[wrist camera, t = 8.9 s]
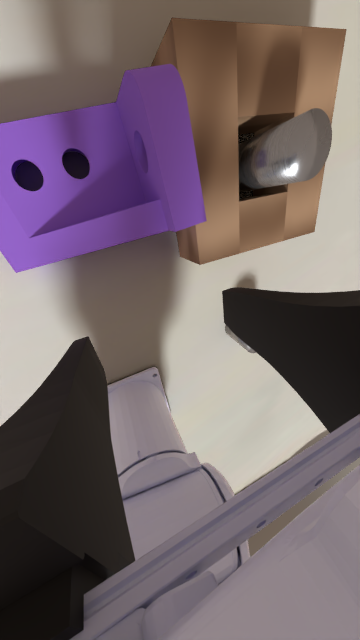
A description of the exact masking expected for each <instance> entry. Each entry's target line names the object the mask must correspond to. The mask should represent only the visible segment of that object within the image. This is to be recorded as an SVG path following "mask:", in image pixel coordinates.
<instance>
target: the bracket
mask: <svg viewBox="0 0 360 640" xmlns="http://www.w3.org/2000/svg"><path fill="white" fill-rule="evenodd" d="M70 151H75V152H78V153H81V154H82V155H84V156H85V157H86V158H87V159H88V161H89V164H90V172H89V174H88V176H87V177H85V178H83V179H76V178H73V177H72V176H70V175H69V174H68V173H67V172H66V170H65V169H64V167H63V164H62V156H63V155H64V154H65V153H67V152H70ZM26 161H30V162H32V163H34V164H35V165H36V166H37V167H38V168H39V169H40V171H41V173H42V175H43V179H44V182H43V186H42V187H41V188H40V189H39V190H37V191H28V190H25V189H23V188H22V187H20V186H19V185H18V184H17V181H16V177H15V172H16V169H17V167H18V165H19V164H21V163H23V162H26ZM205 221H207V220H206V214H205V207H204V201H203V195H202V189H201V183H200V177H199V171H198V165H197V159H196V153H195V147H194V140H193V134H192V128H191V122H190V116H189V110H188V104H187V98H186V93H185V89H184V85H183V82H182V79H181V77H180V74H179V72H178V71H177V69H176V68H175V66H174V65H172V64H165V65H159V66H152V67H146V68H139V69H133V70H126V71H125V73H124V76H123V79H122V83H121V86H120V90H119V94H118V97H117V101H116V102H114V103H108V104H103V105H98V106H92V107H87V108H82V109H76V110H71V111H66V112H60V113H55V114H49V115H44V116H39V117H33V118H28V119H23V120H17V121H12V122H7V123H1V124H0V251H1V252H2V254H3V255H4V257H5V258H6V259H7V261H8V262H9V264H10V265H11V266H12V268H13V269H14V271H15V272H16V273H17V272H21V271H24V270H28V269H32V268H35V267H39V266H42V265H46V264H50V263H53V262H57V261H61V260H64V259H68V258H71V257H75V256H79V255H82V254H86V253H89V252H93V251H97V250H100V249H104V248H108V247H111V246H115V245H118V244H122V243H126V242H129V241H133V240H137V239H140V238H144V237H147V236H151V235H155V234H158V233H162V232H165V231H174V232H176V231H179V230H182V229H185V228H188V227H191V226H194V225H196V224H199V223H202V222H205Z"/></svg>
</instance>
